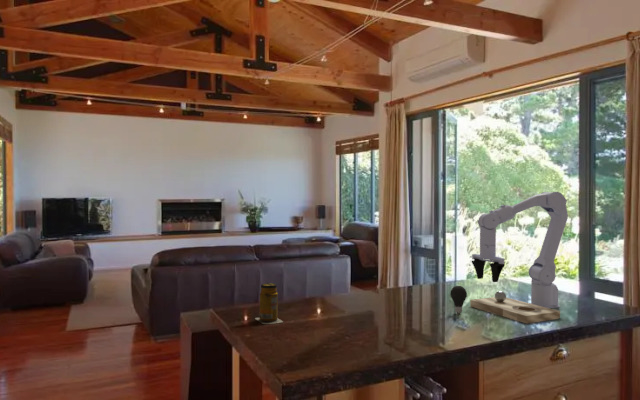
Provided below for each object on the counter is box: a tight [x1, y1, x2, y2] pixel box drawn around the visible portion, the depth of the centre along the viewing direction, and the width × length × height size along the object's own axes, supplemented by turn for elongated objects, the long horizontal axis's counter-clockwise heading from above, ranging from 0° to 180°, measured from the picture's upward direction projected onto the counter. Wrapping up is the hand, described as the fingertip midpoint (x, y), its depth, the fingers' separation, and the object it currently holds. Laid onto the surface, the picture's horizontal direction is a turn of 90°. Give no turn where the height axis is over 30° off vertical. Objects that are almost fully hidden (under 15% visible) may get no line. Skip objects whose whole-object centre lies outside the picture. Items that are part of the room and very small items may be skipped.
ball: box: [494, 290, 507, 302], centre depth 172 cm, size 4×4×4 cm
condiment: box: [254, 282, 284, 325], centre depth 153 cm, size 7×8×12 cm
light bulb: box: [450, 285, 468, 315], centre depth 164 cm, size 6×6×10 cm
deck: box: [470, 296, 561, 325], centre depth 167 cm, size 16×26×2 cm, turn 24°
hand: (487, 280), depth 176 cm, fingers open, 7 cm apart
